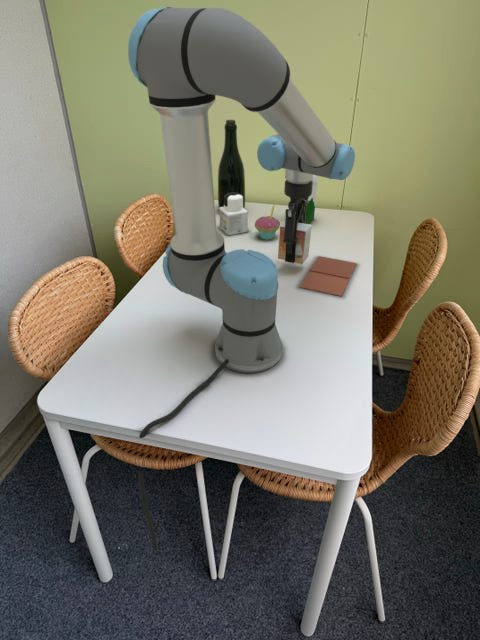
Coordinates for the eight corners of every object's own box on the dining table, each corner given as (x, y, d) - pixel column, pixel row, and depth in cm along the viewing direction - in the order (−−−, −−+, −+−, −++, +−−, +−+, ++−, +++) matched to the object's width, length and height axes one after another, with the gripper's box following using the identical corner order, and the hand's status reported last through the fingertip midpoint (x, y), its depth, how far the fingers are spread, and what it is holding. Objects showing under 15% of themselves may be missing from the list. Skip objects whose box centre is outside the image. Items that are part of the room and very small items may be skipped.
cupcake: (279, 232, 155) (281, 199, 148) (278, 242, 148) (280, 208, 141) (255, 231, 156) (255, 198, 149) (253, 241, 149) (254, 207, 142)
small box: (277, 259, 131) (279, 226, 125) (284, 251, 135) (286, 219, 129) (302, 264, 128) (305, 231, 122) (308, 256, 132) (312, 224, 126)
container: (219, 227, 158) (218, 192, 151) (238, 224, 161) (238, 189, 154) (228, 235, 153) (227, 199, 145) (248, 231, 155) (248, 196, 148)
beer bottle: (223, 204, 177) (221, 116, 158) (248, 207, 174) (249, 118, 155) (214, 214, 169) (211, 122, 150) (240, 217, 166) (240, 124, 147)
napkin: (341, 296, 121) (342, 294, 120) (299, 287, 124) (299, 285, 124) (356, 264, 136) (356, 263, 135) (318, 257, 139) (318, 256, 139)
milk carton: (285, 222, 162) (288, 168, 150) (296, 215, 168) (300, 161, 157) (306, 228, 158) (312, 172, 147) (317, 219, 164) (323, 165, 153)
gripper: (302, 193, 110) (295, 273, 123) (321, 172, 124) (313, 246, 137) (274, 189, 112) (270, 268, 126) (296, 168, 126) (290, 242, 140)
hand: (293, 257), depth 132 cm, fingers closed on small box, 6 cm apart
